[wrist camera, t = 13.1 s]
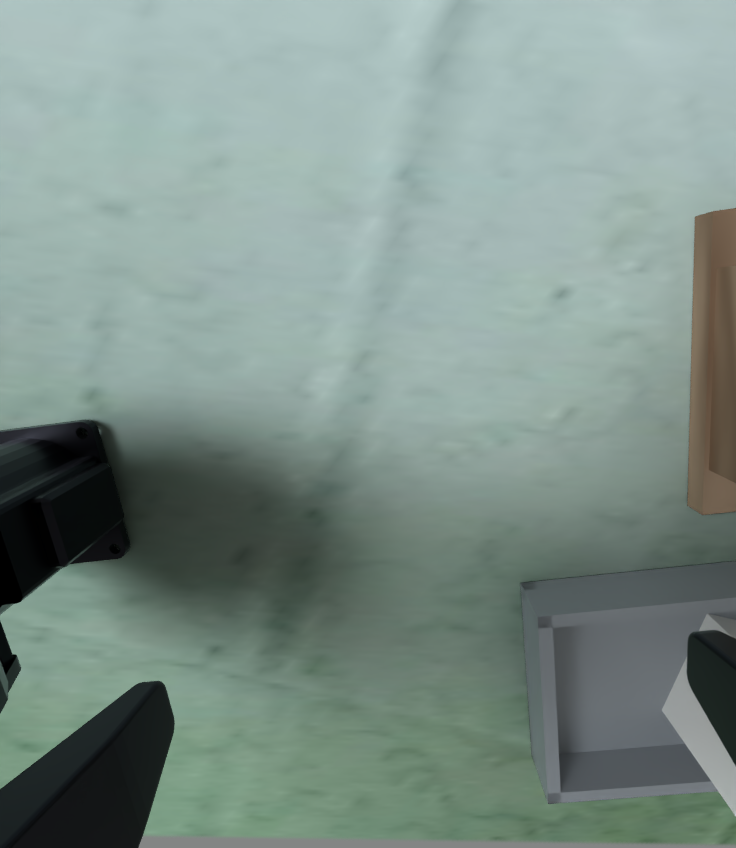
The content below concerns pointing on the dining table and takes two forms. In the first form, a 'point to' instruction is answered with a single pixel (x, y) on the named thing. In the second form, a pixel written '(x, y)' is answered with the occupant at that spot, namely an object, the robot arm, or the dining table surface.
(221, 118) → the dining table surface
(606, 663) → the tray
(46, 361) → the dining table surface
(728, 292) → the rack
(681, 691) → the sheet
